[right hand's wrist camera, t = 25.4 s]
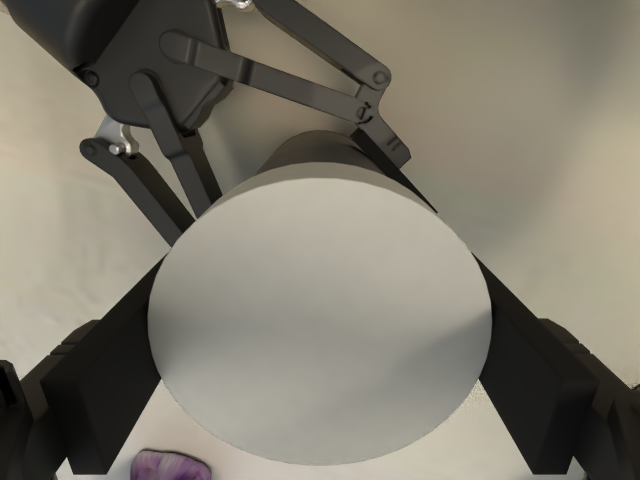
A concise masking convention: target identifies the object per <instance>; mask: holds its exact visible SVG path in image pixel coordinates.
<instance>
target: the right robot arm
mask: <svg viewBox="0 0 640 480" xmlns="http://www.w3.org/2000/svg"><path fill="white" fill-rule="evenodd" d="M168 253H169V252H168ZM168 253H167V254H168ZM471 253H472V252H471ZM167 254H166V255H167ZM166 255H165V256H164V257H163V258H162V259H161V260H160V261H159V262H158V263H157V264H156V265H155V266H154V267H153V268H152V269H151V270H150V271H149V272H148V273H147V274H146V275H145V276H144V277H143V278H142V279H141V280H140V281H139V282H138V283H137V284H136V285H135V286H134V287H133V288H132V289H131V290H130V291H129V292H128V293H127V294H126V295H125V296H124V297H123V298H122V299H121V300H120V301H119V302H118V303H117V304H116V305H115V306H114V307H113V308H112V309H111V310H110V311H109V312H108V313H107V314H106V315H105V316H104V317H103V318H102V319H101V320H91V321H89V322H88V323H86V324H84V325H82V326H81V327H79V328H77V329H76V330H74V331H73V332H72V333H71V334H70V335H69V336H68V337H67V338H65V339H64V340H63V341H62V342H61V345H58V346H57V347H56V348H55V349H54V350H53V351H52V352H50V355H47V356H46V357H45V358H44V359H43V360H42V361H41V362H40V363H39V364H38V365H37V366H35V367H34V368H33V369H32V370H31V371H30V372H29V373H28V374H27V375H26V376H25V377H24V378H23V379H22V380H20V381H19V379H18V376H17V374H16V371H15V369H14V366H13V364H12V363H10V362H8V361H7V360H0V480H58V478H57V476H56V471H57V470H58V469H59V467H60V466H61V464H62V463H63V461H64V460H65V459H66V457H67V458H68V461H69V464H70V467H71V469H72V472H73V475H107V473H108V471H109V469H110V468H111V466H112V464H113V462H114V461H115V459H116V457H117V455H118V454H119V452H120V450H121V448H122V447H123V445H124V443H125V441H126V440H127V438H128V436H129V434H130V433H131V431H132V429H133V427H134V426H135V424H136V422H137V420H138V419H139V417H140V415H141V413H142V411H143V410H144V408H145V406H146V404H147V403H148V401H149V399H150V397H151V396H152V394H153V392H154V390H155V389H156V387H157V385H158V383H159V382H160V380H161V376H160V374H159V372H158V370H157V367H156V365H155V362H154V359H153V356H152V351H151V346H150V342H149V337H148V308H149V300H150V294H151V291H152V288H153V284H154V281H155V278H156V275H157V273H158V271H159V269H160V267H161V265H162V263H163V261H164V259H165V257H166ZM472 255H473V256H474V258H475V260H476V261H477V263H478V265H479V267H480V270H481V272H482V274H483V277H484V279H485V281H486V285H487V289H488V293H489V297H490V301H491V311H492V332H491V341H490V345H489V350H488V355H487V359H486V361H485V364H484V366H483V369H482V371H481V374H480V376H479V378H478V379H479V380H480V382H481V384H482V386H483V387H484V389H485V391H486V393H487V394H488V396H489V398H490V400H491V401H492V403H493V405H494V407H495V408H496V410H497V412H498V414H499V415H500V417H501V419H502V421H503V422H504V424H505V426H506V428H507V429H508V431H509V433H510V435H511V436H512V438H513V440H514V442H515V443H516V445H517V447H518V449H519V450H520V452H521V454H522V456H523V457H524V459H525V461H526V463H527V464H528V466H529V468H530V470H531V471H532V473H533V475H566V474H567V471H568V468H569V466H570V463H571V460H572V457H573V456H574V457H575V458H576V460H577V461H578V463H579V464H580V465H581V467H582V468H583V470H584V471H585V473H584V476H583V478H582V480H640V387H639V388H637V389H635V390H631V389H630V388H629V387H628V386H627V385H626V384H625V383H623V382H622V381H621V380H620V379H619V378H618V377H617V376H616V375H615V374H614V373H613V372H612V371H611V370H609V369H608V368H607V367H606V366H605V365H604V364H603V363H602V362H601V361H600V360H599V359H598V358H597V357H595V356H594V355H593V354H590V351H589V350H588V349H587V348H586V347H585V346H584V345H583V344H579V341H578V340H577V339H576V338H575V337H574V336H573V335H572V334H571V333H570V332H569V331H567V330H566V329H565V328H563V327H561V326H560V325H558V324H556V323H555V322H553V321H551V320H549V319H538V318H537V317H536V316H535V315H534V314H533V313H532V312H531V311H530V310H529V309H528V308H527V307H526V306H525V305H524V304H523V303H522V302H521V301H520V300H519V299H518V298H517V297H516V296H515V295H514V294H513V293H512V292H511V291H510V290H509V289H508V288H507V287H506V286H505V285H504V284H503V283H502V282H501V281H500V280H499V279H498V278H497V277H496V276H495V275H494V274H493V273H492V272H491V271H490V270H489V269H488V268H487V267H486V266H485V265H484V264H483V263H482V262H481V261H480V260H479V259H478V258H477V257H476V256H475V255H474V254H473V253H472Z"/></svg>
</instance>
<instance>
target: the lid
mask: <svg viewBox="0 0 640 480" xmlns="http://www.w3.org/2000/svg"><path fill="white" fill-rule="evenodd" d="M491 332H492V311H491V301H490V297H489V293H488V289H487V285H486V281H485V279H484V277H483V274H482V272H481V270H480V267H479V265H478V263H477V261H476V260H475V258H474V256H473V255H472V253H471V252H470V250H469V249H468V247H467V245H466V244H465V243H464V242H463V241H462V240H461V238H460V237H459V236H458V235H457V234H456V233H455V232H454V230H453V229H452V228H451V227H450V226H449V225H448V224H447V223H446V222H445V221H444V220H443V219H442V218H441V217H440V216H438V215H437V214H436V213H435V212H434V211H433V210H432V209H431V208H430V207H429V206H428V205H427V204H426V203H425V202H424V201H423V200H421V199H420V198H419V197H418V196H417V195H415V194H414V193H413V192H412V191H410V190H409V189H407V188H406V187H404V186H403V185H401V184H399V183H398V182H396V181H395V180H392V179H390V178H388V177H386V176H384V175H381V174H379V173H377V172H374V171H371V170H367V169H364V168H361V167H357V166H353V165H346V164H340V163H329V162H309V163H301V164H292V165H287V166H283V167H279V168H275V169H271V170H268V171H266V172H263V173H261V174H258V175H256V176H253V177H251V178H249V179H247V180H246V181H244V182H242V183H240V184H239V185H237V186H235V187H233V188H232V189H231V190H230V191H228V192H227V193H226V194H224V195H223V196H222V197H220V198H219V199H218V200H217V201H216V202H215V203H214V204H213V205H212V206H211V207H210V208H209V209H207V210H206V211H205V212H204V213H203V214H202V215H201V216H200V217H199V218H198V219H197V220H196V221H195V222H194V223H193V224H192V225H191V226H190V227H189V228H188V229H187V230H186V231H185V232H184V233H183V234H182V235H181V237H180V238H179V239H178V240H177V241H176V243H175V244H174V245H173V247H172V248H171V250H170V251H169V253H168V254H167V255H166V257H165V259H164V261H163V263H162V265H161V267H160V269H159V271H158V273H157V275H156V278H155V281H154V284H153V288H152V291H151V294H150V300H149V308H148V337H149V342H150V346H151V351H152V356H153V359H154V362H155V365H156V367H157V370H158V372H159V374H160V376H161V378H162V380H163V382H164V384H165V386H166V388H167V389H168V390H169V392H170V393H171V395H172V396H173V397H174V399H175V400H176V402H177V403H178V404H179V405H180V406H181V407H182V408H183V409H184V411H185V412H186V413H187V414H188V415H189V416H190V417H191V418H192V419H194V420H195V421H196V422H197V423H198V424H199V425H201V426H202V427H203V428H204V429H206V430H207V431H209V432H210V433H212V434H213V435H215V436H216V437H217V438H219V439H221V440H223V441H225V442H227V443H228V444H230V445H232V446H234V447H236V448H239V449H241V450H243V451H246V452H248V453H251V454H253V455H257V456H260V457H263V458H267V459H270V460H275V461H280V462H285V463H291V464H300V465H322V466H327V465H340V464H349V463H355V462H360V461H365V460H369V459H373V458H376V457H380V456H383V455H386V454H389V453H391V452H394V451H397V450H399V449H401V448H403V447H405V446H407V445H409V444H411V443H413V442H415V441H417V440H419V439H420V438H422V437H423V436H425V435H427V434H428V433H430V432H431V431H433V430H434V429H435V428H436V427H438V426H439V425H440V424H441V423H443V422H444V421H445V420H446V419H447V418H448V417H449V416H450V415H451V414H452V413H453V412H454V411H455V410H456V409H457V408H458V407H459V406H460V405H461V404H462V402H463V401H464V400H465V398H466V397H467V396H468V394H469V393H470V392H471V390H472V388H473V387H474V385H475V383H476V381H477V380H478V378H479V376H480V374H481V371H482V369H483V366H484V364H485V361H486V359H487V355H488V350H489V345H490V341H491Z"/></svg>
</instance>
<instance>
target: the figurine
mask: <svg viewBox="0 0 640 480" xmlns="http://www.w3.org/2000/svg"><path fill="white" fill-rule="evenodd" d="M130 480H211V473H210V470H209V469H208V468H207V467H206V465H205V464H203V463H201V462H198V461H195V460H193V459H191V458H188V457H186V456H183V455H180V454H176V453H159V452H153V451H142V452H140V453H139V454H138V455H137V457H136V458H135V459H134V461H133V463H132V464H131V470H130Z"/></svg>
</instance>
